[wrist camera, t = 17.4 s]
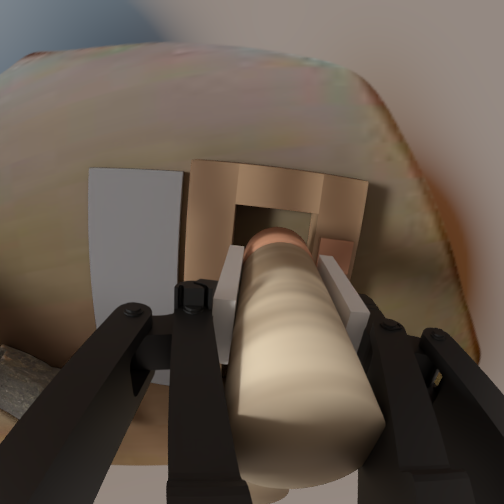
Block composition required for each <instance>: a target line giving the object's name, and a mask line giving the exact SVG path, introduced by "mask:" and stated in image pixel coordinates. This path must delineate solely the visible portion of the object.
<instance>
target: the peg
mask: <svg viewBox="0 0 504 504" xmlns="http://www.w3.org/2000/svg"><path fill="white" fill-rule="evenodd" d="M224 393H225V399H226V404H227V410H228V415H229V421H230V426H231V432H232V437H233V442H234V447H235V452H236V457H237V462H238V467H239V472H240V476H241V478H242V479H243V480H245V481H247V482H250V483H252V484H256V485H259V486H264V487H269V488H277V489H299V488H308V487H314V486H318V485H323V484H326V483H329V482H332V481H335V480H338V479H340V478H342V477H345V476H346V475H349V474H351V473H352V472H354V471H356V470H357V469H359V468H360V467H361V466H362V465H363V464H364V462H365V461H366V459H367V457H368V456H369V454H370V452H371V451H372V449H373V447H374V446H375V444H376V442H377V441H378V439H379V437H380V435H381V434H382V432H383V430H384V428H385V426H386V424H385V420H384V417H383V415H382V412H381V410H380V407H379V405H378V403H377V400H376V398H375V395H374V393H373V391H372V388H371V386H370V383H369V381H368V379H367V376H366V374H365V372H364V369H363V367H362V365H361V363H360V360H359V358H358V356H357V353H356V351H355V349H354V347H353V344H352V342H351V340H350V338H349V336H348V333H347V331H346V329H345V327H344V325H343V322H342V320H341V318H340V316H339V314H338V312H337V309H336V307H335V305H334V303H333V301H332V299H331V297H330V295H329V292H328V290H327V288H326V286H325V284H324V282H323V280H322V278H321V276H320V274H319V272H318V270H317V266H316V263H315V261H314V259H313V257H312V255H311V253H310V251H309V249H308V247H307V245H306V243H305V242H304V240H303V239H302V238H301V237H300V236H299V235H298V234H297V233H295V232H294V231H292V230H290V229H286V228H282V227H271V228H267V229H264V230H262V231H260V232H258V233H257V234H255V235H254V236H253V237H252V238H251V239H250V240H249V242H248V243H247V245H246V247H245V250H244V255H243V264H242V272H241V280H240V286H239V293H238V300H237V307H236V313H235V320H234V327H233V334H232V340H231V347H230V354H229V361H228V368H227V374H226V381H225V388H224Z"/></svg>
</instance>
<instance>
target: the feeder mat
mask: <svg viewBox="0 0 504 504" xmlns="http://www.w3.org/2000/svg"><path fill="white" fill-rule="evenodd" d="M183 178H184V172H183V171H167V170H149V169H127V168H89V185H88V232H89V256H90V272H91V284H92V295H93V304H94V313H95V321H96V328H98V327H99V326H100V325H101V324H102V323H103V322H104V321H105V320H106V319H107V318H108V316H109V315H110V314H111V313H112V312H113V311H114V310H115V309H116V308H117V307H119V306H120V305H122V304H126V303H129V302H130V303H131V302H136V303H142V304H145V305H147V306H149V307H150V308H151V310H152V315H168V314H172V313H174V287H175V285H176V284H178V269H179V243H180V223H181V206H182V192H183ZM169 382H170V369H169V370H155V375H154V376H153V378H152V380H151V383H156V384H162V385H167V386H169Z"/></svg>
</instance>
